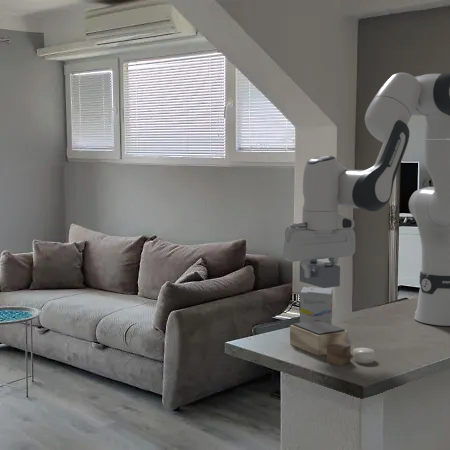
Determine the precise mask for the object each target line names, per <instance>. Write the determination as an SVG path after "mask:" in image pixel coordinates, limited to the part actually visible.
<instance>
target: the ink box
mask: <svg viewBox="0 0 450 450" xmlns="http://www.w3.org/2000/svg"><path fill="white" fill-rule="evenodd" d="M333 290H334V289H333V287H329V288H321V287H318V286H309V287H308V286H303V287H302V289H301V291H300V297H299V298H300V302H299V303H300V304H299V305H300V306H299V323H301V322H308V321H315V320H319V321H322V322H325V323H328V324H331V325H333V324H332V323H333V322H332V319H333Z"/></svg>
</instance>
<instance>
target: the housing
mask: <svg viewBox="0 0 450 450" xmlns="http://www.w3.org/2000/svg"><path fill="white" fill-rule="evenodd" d="M308 265H309V268H310V270H312V271H313V277H312V278H306V277H305V270H304V269H303V267H302V265H301V261H299V282H301V283H303V284H308V285H312V286H313V287H317V288H336V287H340V286H341V284H340V283H341V266H340V265H338V264H337V265H333V264H331V263H330V261H329V262H323V261H320V260H318V259H316V260H310V264H308Z"/></svg>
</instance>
